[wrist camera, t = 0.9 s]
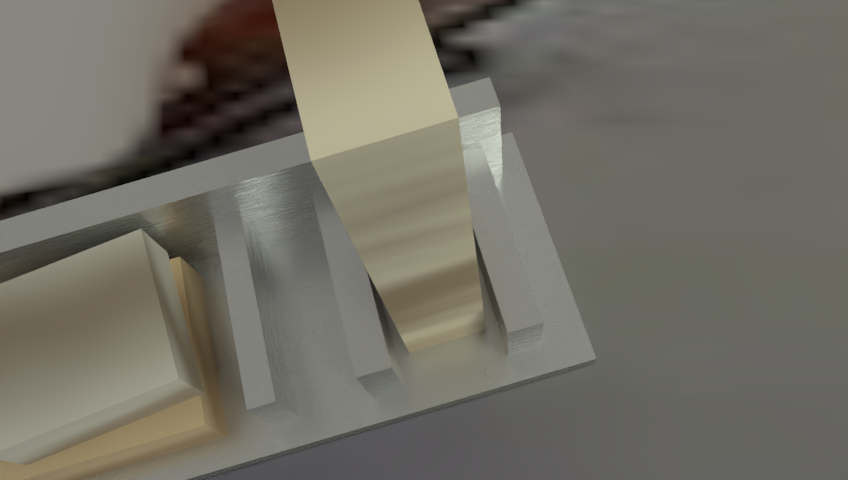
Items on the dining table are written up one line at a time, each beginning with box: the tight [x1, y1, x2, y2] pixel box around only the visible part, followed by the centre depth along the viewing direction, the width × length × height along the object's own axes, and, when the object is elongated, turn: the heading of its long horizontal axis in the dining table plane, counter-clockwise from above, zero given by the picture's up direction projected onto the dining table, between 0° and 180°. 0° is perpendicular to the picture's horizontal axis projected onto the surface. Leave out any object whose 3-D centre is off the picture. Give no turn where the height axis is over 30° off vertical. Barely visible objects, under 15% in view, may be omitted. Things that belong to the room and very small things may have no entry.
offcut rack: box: [0, 77, 596, 480], centre depth 22 cm, size 8×18×5 cm, turn 105°
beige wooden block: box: [272, 0, 486, 353], centre depth 18 cm, size 4×2×12 cm, turn 15°
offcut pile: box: [0, 229, 228, 480], centre depth 22 cm, size 6×6×4 cm
